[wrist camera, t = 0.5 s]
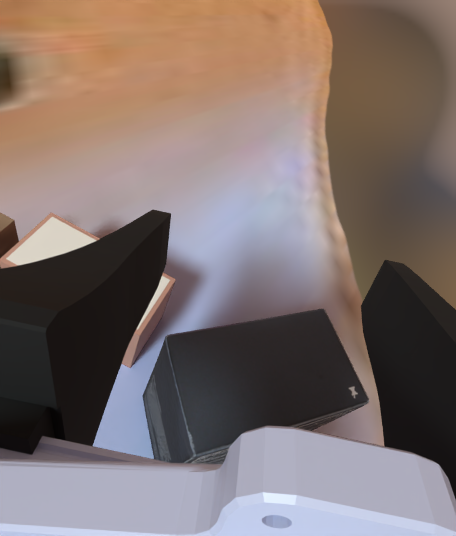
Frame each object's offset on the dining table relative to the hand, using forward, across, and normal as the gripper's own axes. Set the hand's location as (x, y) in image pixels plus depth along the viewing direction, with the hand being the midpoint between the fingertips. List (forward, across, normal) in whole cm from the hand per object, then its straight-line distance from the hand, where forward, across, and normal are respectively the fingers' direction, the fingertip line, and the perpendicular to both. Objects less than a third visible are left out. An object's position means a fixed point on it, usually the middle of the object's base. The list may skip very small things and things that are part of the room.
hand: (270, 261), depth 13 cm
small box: (+6, 0, +19) cm, 20 cm away
